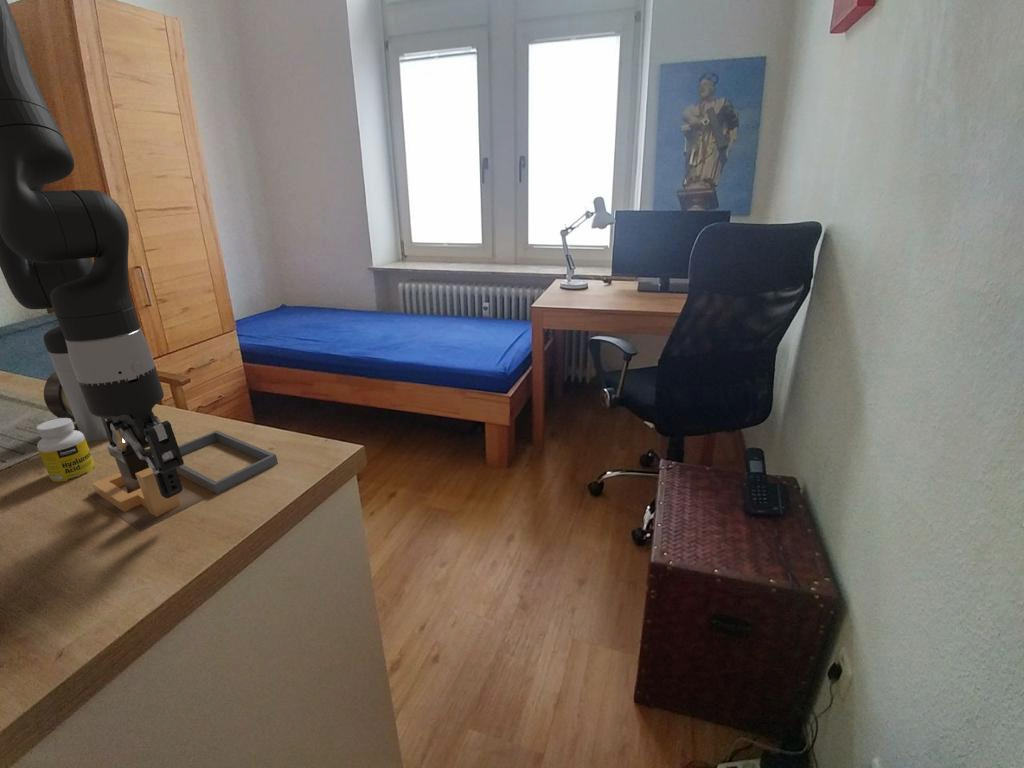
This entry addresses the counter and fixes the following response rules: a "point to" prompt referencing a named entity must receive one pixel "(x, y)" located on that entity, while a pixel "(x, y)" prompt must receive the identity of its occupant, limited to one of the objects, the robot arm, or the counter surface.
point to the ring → (136, 493)
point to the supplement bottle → (64, 450)
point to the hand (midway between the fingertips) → (156, 485)
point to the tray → (233, 479)
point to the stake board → (140, 513)
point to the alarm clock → (57, 399)
